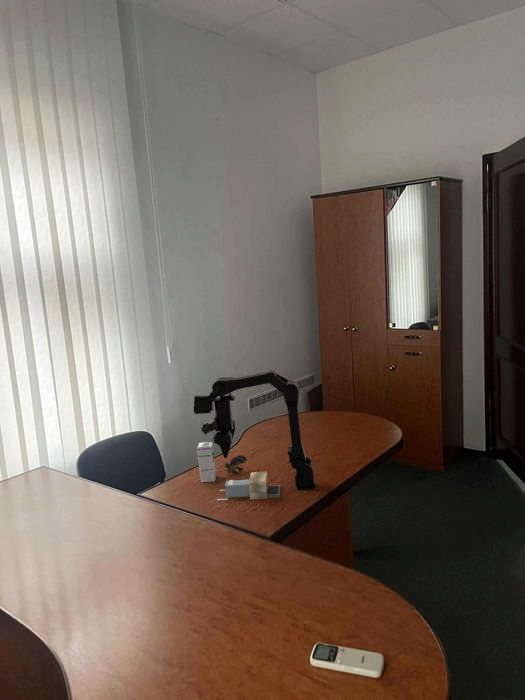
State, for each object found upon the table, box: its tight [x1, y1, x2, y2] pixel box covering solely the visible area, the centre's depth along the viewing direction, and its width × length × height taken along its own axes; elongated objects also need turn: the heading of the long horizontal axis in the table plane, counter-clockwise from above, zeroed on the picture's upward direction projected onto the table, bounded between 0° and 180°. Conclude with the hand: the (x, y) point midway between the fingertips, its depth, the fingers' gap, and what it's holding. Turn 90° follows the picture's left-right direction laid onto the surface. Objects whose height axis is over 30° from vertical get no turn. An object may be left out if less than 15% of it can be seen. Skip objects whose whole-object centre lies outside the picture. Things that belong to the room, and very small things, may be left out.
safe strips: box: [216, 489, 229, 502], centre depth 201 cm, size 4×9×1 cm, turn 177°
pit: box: [267, 484, 281, 499], centre depth 200 cm, size 5×9×1 cm, turn 177°
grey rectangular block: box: [224, 479, 250, 499], centre depth 200 cm, size 14×4×5 cm, turn 87°
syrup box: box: [196, 441, 217, 483], centre depth 216 cm, size 6×6×14 cm
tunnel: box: [248, 471, 269, 500], centre depth 200 cm, size 6×10×6 cm, turn 177°
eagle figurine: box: [221, 455, 247, 476], centre depth 223 cm, size 8×7×9 cm
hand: (227, 453), depth 203 cm, fingers open, 9 cm apart
